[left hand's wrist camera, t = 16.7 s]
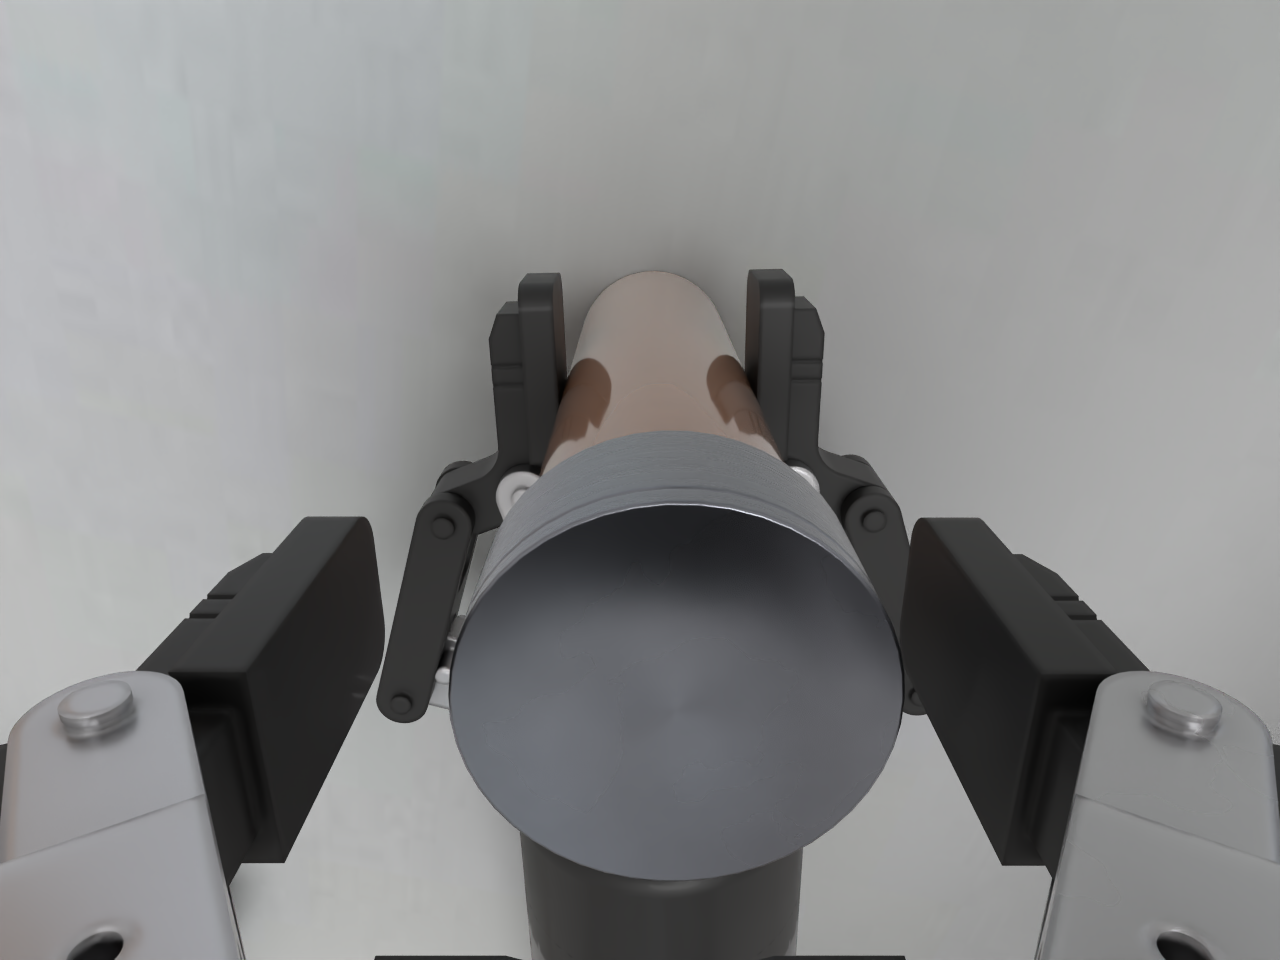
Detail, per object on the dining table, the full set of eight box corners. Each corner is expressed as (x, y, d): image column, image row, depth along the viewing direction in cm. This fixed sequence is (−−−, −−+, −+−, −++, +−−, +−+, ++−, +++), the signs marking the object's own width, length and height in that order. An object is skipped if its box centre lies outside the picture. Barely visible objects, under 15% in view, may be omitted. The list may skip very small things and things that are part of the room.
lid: (617, 809, 12) (614, 941, 10) (405, 557, 11) (351, 655, 9) (921, 651, 11) (982, 764, 9) (734, 351, 10) (758, 407, 8)
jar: (552, 326, 24) (409, 639, 9) (671, 240, 23) (730, 432, 8) (635, 437, 26) (629, 875, 10) (751, 360, 25) (927, 716, 10)
